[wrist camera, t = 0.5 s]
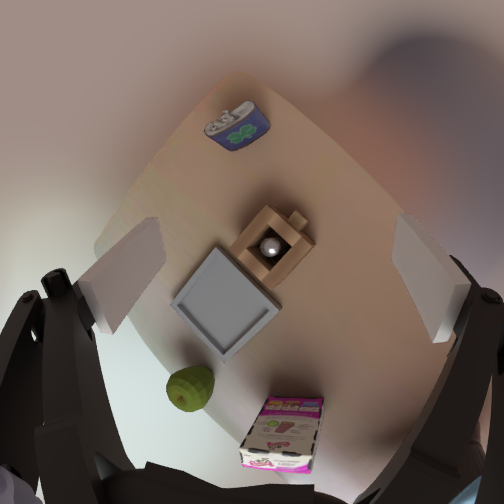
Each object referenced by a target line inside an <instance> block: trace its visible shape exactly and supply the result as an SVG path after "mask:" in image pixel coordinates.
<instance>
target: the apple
mask: <svg viewBox="0 0 504 504" xmlns="http://www.w3.org/2000/svg"><path fill="white" fill-rule="evenodd" d="M214 383H215V379H214V376H213V374H212V372H211V371H210V370H209V369H207V368H206V367H202V366H195V367H188V368H184V369H182V370H179V371H177V372H175V373H174V374H172V375H171V376H170V378H169V380H168V383H167V385H166V392H167V395H168V397H169V400H170V401H171V402H172V403H173V404H174V405H175V406H176V407H177V408H179V409H181V410H183V411H185V412H194V411H196V410H199V409H202V408H204V406H205V405H206V403H207V402H208V400H209V399H210V397H211V396H212V393H213V388H214Z"/></svg>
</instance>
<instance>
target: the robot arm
mask: <svg viewBox="0 0 504 504" xmlns="http://www.w3.org/2000/svg"><path fill="white" fill-rule="evenodd" d="M391 260H392V262H393V263H394V265H395V267H396V269H397V271H398V273H399V274H400V276H401V278H402V280H403V282H404V284H405V286H406V288H407V290H408V292H409V294H410V296H411V298H412V300H413V302H414V304H415V306H416V308H417V310H418V312H419V314H420V316H421V318H422V321H423V323H424V325H425V327H426V329H427V332H428V334H429V336H430V338H431V341H432V343H439V342H446V341H448V340H449V338H450V336H451V333H452V331H453V330H454V332H455V334H456V336H457V337H456V339H455V341H454V343H453V345H452V347H451V349H450V351H449V353H448V355H447V357H448V358H447V361H446V363H445V365H444V367H443V370H442V372H441V374H440V376H439V378H438V380H437V383H436V385H435V387H434V389H433V391H432V393H431V395H430V397H429V398H428V400H427V402H426V404H425V406H424V408H423V410H422V411H421V413H420V415H419V417H418V418H417V420H416V422H415V424H414V425H413V427H412V428H411V430H410V432H409V433H408V435H407V436H406V438H405V440H404V441H403V443H402V444H401V446H400V447H399V449H398V450H397V452H396V453H395V454H394V456H393V457H392V459H391V460H390V461H389V463H388V464H387V466H386V467H385V468H384V470H383V471H382V472H381V473H380V475H379V476H378V477H377V479H376V480H375V481H374V482H373V483H372V484H371V485H370V486H369V487H368V488H367V489H366V490H365V491H364V493H362V494H360V495H359V496H358V497H357V498H356V499H355V501H354V503H353V504H504V303H503V299H502V298H501V296H500V295H499V294H498V293H497V292H495V291H494V290H492V289H489V288H481V287H480V286H479V284H478V283H477V282H476V280H475V279H474V278H473V277H472V275H471V274H469V272H468V270H467V269H466V268H464V266H463V265H462V263H461V262H460V261H459V260H457V259H456V258H455V257H453V256H452V255H448V254H447V253H446V252H445V250H444V249H443V248H442V247H441V246H440V245H439V244H438V243H437V242H436V240H435V239H434V238H433V237H432V236H431V235H430V234H429V233H428V232H427V230H426V229H425V228H424V227H423V226H422V225H421V224H420V223H419V222H418V221H417V220H416V219H415V218H414V217H413V216H412V215H411V214H410V213H409V214H408V213H398V215H397V223H396V230H395V237H394V244H393V250H392V256H391ZM166 261H167V256H166V252H165V248H164V244H163V239H162V235H161V230H160V226H159V221H158V217H151V218H146V219H144V220H143V221H142V222H141V223H140V224H138V225H137V226H136V227H135V228H134V229H133V230H131V231H130V232H129V233H128V234H127V235H126V236H124V237H123V238H122V239H121V240H120V241H119V242H118V243H117V244H115V245H114V246H113V247H112V248H111V249H110V250H109V251H108V252H107V253H105V254H104V255H103V256H102V257H101V258H100V259H99V260H98V261H97V262H96V263H95V264H94V265H93V266H92V267H91V268H89V269H88V270H87V271H86V272H85V273H84V274H83V275H82V276H81V277H80V278H79V279H78V280H77V281H76V282H75V283H74V284H73V285H71V282H70V280H69V278H68V275H67V273H66V270H65V269H63V268H59V269H55V270H53V271H51V272H49V273H47V274H46V275H45V276H44V277H43V278H42V279H41V283H42V285H43V287H44V289H45V292H46V293H47V296H48V298H44V299H41V297H40V295H39V293H38V291H37V290H31V291H27V292H26V293H24V294H23V295H22V296H21V297H20V298H19V300H18V301H17V303H16V305H15V307H14V309H13V310H12V312H11V314H10V316H9V318H8V320H7V322H6V324H5V326H4V328H3V330H2V332H1V334H0V504H43V503H42V501H41V500H40V499H39V498H38V497H36V496H35V495H36V491H37V486H38V480H39V477H40V482H41V487H42V491H43V496H44V500H45V504H348V503H346V502H344V501H342V500H341V499H338V498H336V497H334V496H331V495H328V494H324V493H321V492H316V491H314V484H306V485H296V484H265V485H257V486H249V487H239V488H220V487H218V486H215V485H213V484H211V483H208V482H206V481H204V480H201V479H199V478H197V477H195V476H193V475H191V474H188V473H186V472H184V471H181V470H177V469H173V468H169V467H165V466H162V465H158V464H155V463H151V462H148V461H147V463H146V465H145V468H144V469H136V468H135V467H134V465H133V464H132V463H131V461H130V460H129V458H128V457H127V455H126V453H125V450H124V447H123V444H122V442H121V439H120V436H119V433H118V430H117V427H116V424H115V420H114V417H113V414H112V411H111V407H110V403H109V400H108V396H107V392H106V388H105V384H104V380H103V375H102V371H101V366H100V362H99V356H98V351H97V345H96V340H95V334H94V332H93V330H92V328H91V327H92V326H93V324H94V323H95V322H96V324H97V326H98V328H99V330H100V332H103V333H108V334H114V333H115V331H116V330H117V328H118V327H119V325H120V324H121V322H122V321H123V319H124V318H125V317H126V315H127V314H128V312H129V311H130V310H131V308H132V307H133V305H134V304H135V302H136V301H137V300H138V298H139V297H140V296H141V294H142V293H143V291H144V290H145V289H146V287H147V286H148V285H149V283H150V282H151V281H152V279H153V278H154V276H155V275H156V274H157V272H158V271H159V270H160V269H161V267H162V266H163V265H164V263H165V262H166ZM31 330H32V331H33V333H34V335H35V336H36V340H35V341H34V340H33V337H32V333H31ZM491 375H492V405H491V419H490V429H489V437H488V445H487V451H486V455H485V453H484V450H483V448H482V446H481V444H480V423H479V420H478V419H479V416H480V413H481V410H482V407H483V404H484V401H485V397H486V394H487V390H488V387H489V383H490V379H491ZM43 424H44V425H43Z"/></svg>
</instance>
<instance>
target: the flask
mask: <svg viewBox="0 0 504 504" xmlns="http://www.w3.org/2000/svg"><path fill="white" fill-rule="evenodd" d="M222 112H225V114H224V115H222V118H220V119H218V120H215V121H213V122H210V123H209V124H207V125H206V128H205V130H204V132H205V134H206V135H207V136H208V137H209V138H211V139H212V140H214V141H216V142H217V143H219V144H220V145H221V146H222V147H224V148H226V149H227V150H229V151H236V150H239V149H241V148H244V147H246V146H248V145H249V144H251V143H252V142H254V141H255V140H257V139H258V138H260V137H261V136H262V135H264V134H265V133H266V132H267V131H268V130H269V128H270V122H269V121H268V120H267V118H266V117H265V116H264V114H263V113H262V112H261V111H260V110H259V109H258V107H257V106H256V104H255V103H254V102H252V101H249V100H248V101H245V102H243V103H242V104H241V105H240V106H238V107H237V108H236V109H234V110H233V111H231V112H230V113H228V110H223V111H222Z"/></svg>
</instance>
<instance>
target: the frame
mask: <svg viewBox="0 0 504 504" xmlns="http://www.w3.org/2000/svg"><path fill="white" fill-rule="evenodd" d="M308 223H309V221H308V220H307V219H306V218H305V217H304V216H303V215H302V214H301V213H299V212H298V211H296V210H295V211H294V213H293V214H292V215H291V216H290V217H289V218H287V217H286V216H285V215H284V214H283V213H282V212H280V211H279V210H278V209H277V208H276V207H273V206H270V205H267V204H266V205H265V206H264V208H263V209H262V210H261V211H260V212H259V213H258V215H257V216H256V217H255V218H254V219H253V221H252V222H251V223H250V224H249V225H248V226H247V228H246V229H245V230H244V231H243V232H242V234H241V235H240V236H239V237H238V238H237V240H236V241H235V242H234V243H233V244H232V246H231V247H230V248H229V250H230V251H231V252H232V253H233V254H234V255H235V256H236V257H237V258H238V259H239V260H240V261H241V262H242V263H243V264H244V265H245V266H246V267H247V268H248V269H249V270H250V271H251V272H252V273H253V274H254V275H255V276H256V277H257V278H258V279H259V280H260V281H261V282H262V283H263V284H264V285H265V286H266V287H267V288H268V289H269V290H272V289H273V288H274V287H276V286H277V285H278V284H280V283H281V282H282V281H283V280H284V279H285V277H286V276H287V275H288V274H289V273H290V272H291V271H292V270H293V269H294V268H295V267H296V266H297V265H298V264H299V263H300V261H301V260H302V259H303V258H304V257H305V256H306V255H307V254H308V253H309V252H310V251H311V250H312V248H313V247H314V246H315V245H316V244H315V243H314V242H313V241H312V240H311V239H310V238H309V237H308V236H307V235H306V234H304V233H303V232H302V229H303V228H304V227H305V226H306V225H307V224H308ZM273 229H274V230H275V231H276V232H277V233H278V234H279V235H280V236H281V237H282V238H283V239H284V240H285V241H287V242H288V243H289V244H290V245H291V246H292V248H291V249H290V250H289V251H288V252H287V253H286V254H285V255H284V256H283V257H282V259H281V260H280V261H279V262H278V263H277V264H276V263H275V262H274V261H273V260H272V259H270V258H269V257H267V256H265V255H263V253H262V252H261V249H260V248H259V247H258V246H259V245H260V244H261V243H262V241H263V240H264V239H265V238H266V237H267V236H268V235H269V233H270V232H271V231H272V230H273Z"/></svg>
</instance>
